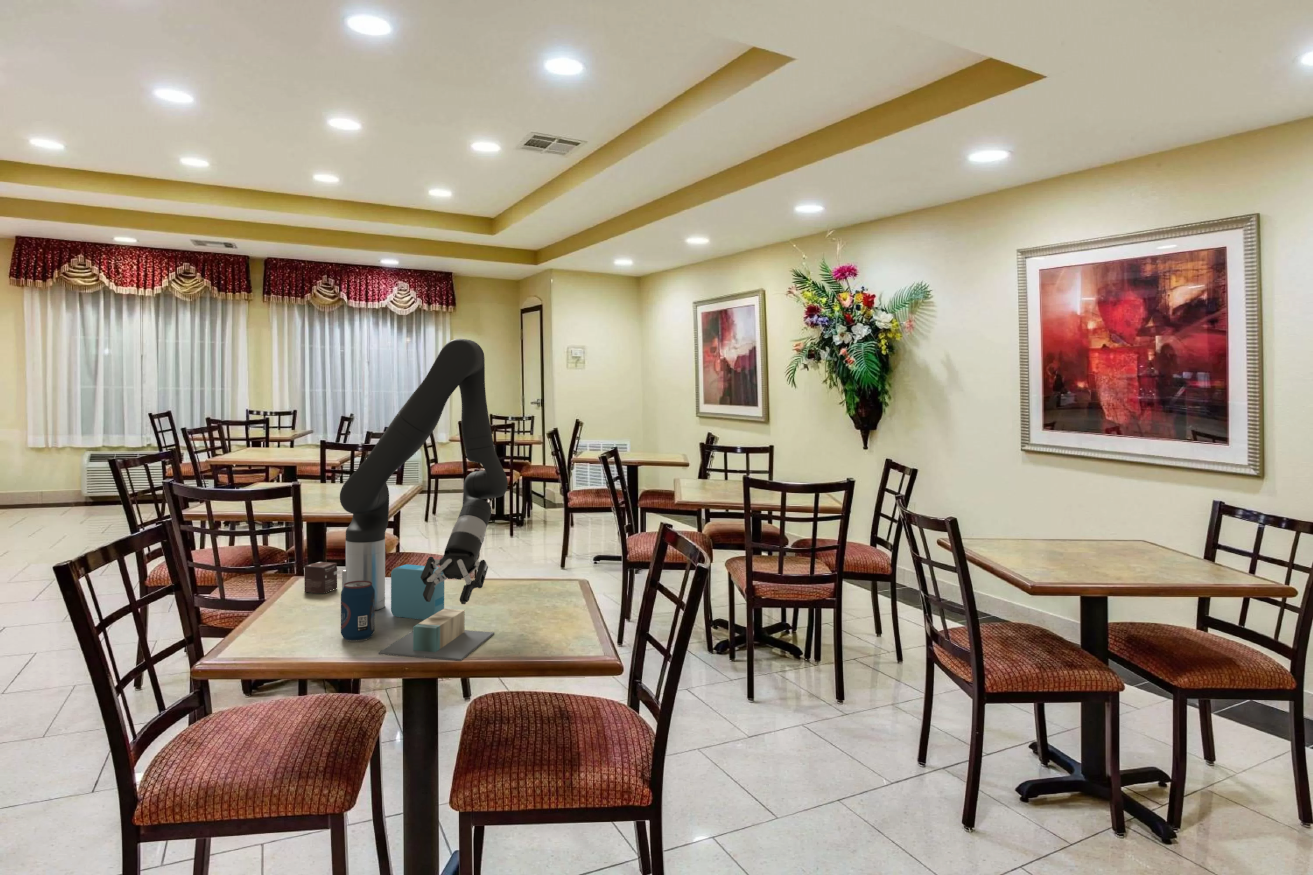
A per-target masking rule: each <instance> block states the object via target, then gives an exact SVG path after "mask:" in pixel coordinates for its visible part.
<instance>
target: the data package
mask: <svg viewBox="0 0 1313 875" xmlns="http://www.w3.org/2000/svg"><path fill="white" fill-rule="evenodd" d="M424 567H425V565H421V564H420V565H419V564H418V565H417V564H410V563H409V564H403V565H399V566H397V567H395V568H394V567H393V569H392V570H391V573H390V612H391V614H392V616H394V617H395V616H396V617H397V618H403V619H411V618H412V620H421V621H424V620H425V619H427V618H429V617H430V616H432V615H434V614H436V613H437V612H439V611H441V610H442V609H445V580H444V581H443V582H440V583H439V584H438V585H436V586H435V590H434V593H433V595H432V598H431V601H430V602H426V600H425V599H424V596H423V592H424V590H425V587H426V585H425V584H424V583H423V581H422V580H421V578H420V577H421V574H422V572H423V570H424ZM439 567H440V566H437V569H438V568H439ZM437 569H434V572H435V570H437ZM434 572H433V574H434ZM433 574H432V575H433ZM443 574H444V573H443V572H442V573H441V576H442V575H443ZM396 617H395V618H396Z"/></svg>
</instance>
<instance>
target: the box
mask: <svg viewBox="0 0 1313 875" xmlns="http://www.w3.org/2000/svg"><path fill="white" fill-rule="evenodd" d="M336 588H337V589H338V562H325V561H318V562H315V563H310V564H306V565H304V593H305V592H312V593H311V594H317V593H326V592H328V591H330V590H333V589H336ZM337 589H336V590H337ZM333 591H334V590H333ZM328 593H329V592H328ZM326 594H327V593H326Z"/></svg>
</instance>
